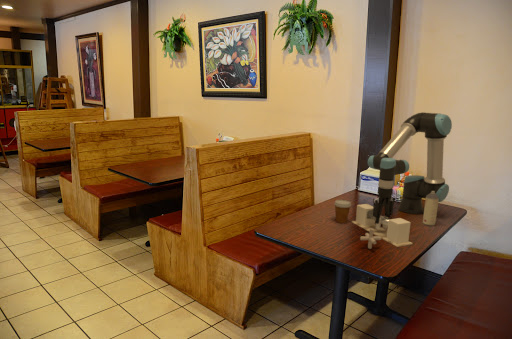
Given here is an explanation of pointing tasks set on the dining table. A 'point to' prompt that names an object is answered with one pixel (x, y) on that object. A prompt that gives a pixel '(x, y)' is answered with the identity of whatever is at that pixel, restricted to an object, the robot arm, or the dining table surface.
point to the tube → (383, 219)
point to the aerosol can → (430, 209)
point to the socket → (398, 230)
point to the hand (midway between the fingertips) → (381, 228)
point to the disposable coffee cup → (342, 210)
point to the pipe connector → (370, 238)
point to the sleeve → (364, 215)
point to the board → (381, 234)
